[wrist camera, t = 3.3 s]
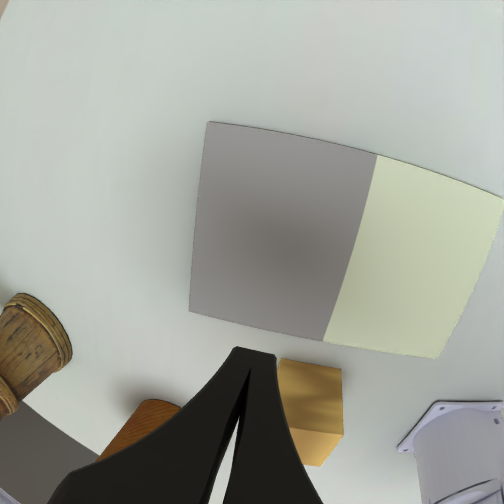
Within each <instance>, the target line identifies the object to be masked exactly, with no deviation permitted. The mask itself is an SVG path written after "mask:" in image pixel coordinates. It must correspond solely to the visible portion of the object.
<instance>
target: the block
mask: <svg viewBox="0 0 504 504" xmlns="http://www.w3.org/2000/svg"><path fill="white" fill-rule="evenodd" d="M277 377H278V384H279V390H280V395H281V400H282V404H283V408H284V412H285V416H286V420H287V423H288V426H289V429H290V433H291V436H292V439H293V441H294V444H295V447H296V449H297V452H298V454H299V457H300V459H301V462H302V464H304V465H312V466H321V465H322V464H323V462H324V461H325V460H326V458H327V457H328V456H329V454H330V453H331V452H332V450H333V449H334V448H335V446H336V445H337V444H338V442H339V441H340V439H341V438H342V437H343V435H344V428H343V400H342V381H341V369H337V368H331V367H325V366H320V365H314V364H308V363H303V362H298V361H293V360H288V359H283V358H281V360H280V363H279V366H278V370H277Z"/></svg>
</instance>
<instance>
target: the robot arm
mask: <svg viewBox="0 0 504 504" xmlns="http://www.w3.org/2000/svg"><path fill="white" fill-rule="evenodd" d="M276 359H277V358H276V357H275V355H274V354H269V353H264V352H260V351H255V350H251V349H247V348H242V347H238V346H236V347H234V348H233V349H232V351H231V353H230V354H229V356H228V357H227V359H226V360H225V362H224V363H223V365H222V366H221V367H220V368H219V370H218V371H217V372H216V373H215V375H214V376H213V377H212V378H211V379H210V380H209V381H208V383H207V384H206V385H205V386H204V387H203V388H202V389H201V390H200V391H199V392H198V393H197V394H196V395H195V396H194V397H193V398H192V399H191V400H190V401H189V402H188V403H187V404H186V405H185V406H184V407H183V408H181V409H180V410H179V411H178V412H177V413H176V414H174V415H173V416H172V417H171V418H169V419H168V420H167V421H166V422H164V423H163V424H162V425H160V426H159V427H157V428H156V429H155V430H153V431H152V432H150V433H149V434H147V435H146V436H144V437H143V438H141V439H140V440H138V441H136V442H135V443H133V444H131V445H129V446H127V447H126V448H124V449H122V450H120V451H118V452H116V453H114V454H112V455H110V456H108V457H106V458H104V459H102V460H100V461H97V462H95V463H92V464H90V465H87V466H85V467H82V468H79V469H77V470H74V471H72V472H70V473H69V474H68V475H67V476H66V477H65V478H64V479H63V481H62V482H61V483H60V484H59V485H58V487H57V488H56V490H55V491H54V493H53V495H52V497H51V498H50V500H49V502H48V503H47V504H208V503H209V499H210V496H211V492H212V489H213V486H214V482H215V479H216V476H217V473H218V470H219V467H220V465H221V462H222V460H223V457H224V455H225V452H226V450H227V447H228V445H229V442H230V440H231V437H232V434H233V432H234V429H235V427H236V424H237V421H238V419H239V423H238V429H237V436H236V442H235V449H234V455H233V461H232V468H231V473H230V478H229V482H228V486H227V489H226V493H225V497H224V500H223V504H323V502H322V501H321V499H320V497H319V495H318V493H317V491H316V490H315V488H314V486H313V484H312V482H311V480H310V479H309V477H308V475H307V473H306V470H305V468H304V466H303V464H302V462H301V459H300V457H299V454H298V452H297V449H296V447H295V444H294V441H293V439H292V436H291V433H290V429H289V426H288V423H287V420H286V416H285V412H284V408H283V404H282V400H281V395H280V390H279V384H278V377H277V366H276ZM503 407H504V403H503V402H436V403H434V404H433V405H432V407H431V408H430V409H429V411H428V412H427V413H426V414H425V416H424V417H423V418H422V419H421V421H420V422H419V423H418V424H417V426H416V427H415V428H414V429H413V430H412V431H411V433H410V434H409V435H408V436H407V437H406V438H405V439H404V441H403V442H402V443H401V444H400V445H399V446H398V447H397V452H399V453H415V457H416V463H417V469H418V476H419V483H420V491H421V499H422V504H504V420H503V418H502V415H501V413H500V410H501V409H502V408H503ZM239 416H240V417H239ZM0 504H20V503H19V502H17V501H16V500H15V499H14V498H12V497H11V496H10V495H8V494H7V493H6V492H5V491H3V490H2V489H1V488H0Z"/></svg>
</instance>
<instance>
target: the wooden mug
mask: <svg viewBox="0 0 504 504" xmlns="http://www.w3.org/2000/svg"><path fill="white" fill-rule="evenodd" d="M71 356H72V351H71V345H70V343H69V340H68V337H67V335H66V333H65V331H64V330H63V328H62V326H61V324H60V323H59V322H58V320H57V319H56V317H55V316H54V315H53V314H52V313H51V311H50V310H49V309H48V308H47V307H46V306H44V305H43V304H42V303H41V302H39V301H38V300H36V299H34V298H32V297H30V296H28V295H26V294H16V295H15V296H14V297H13V298H12V299H11V300H10V301H9V302H8V303H7V304H6V305H5V306H4V309H3V313H2V314H1V315H0V420H1V419H2V418H4V417H5V416H6V415H10V414H12V413H13V412H15V411H16V410H17V409H18V408H19V402H20V401H21V400H23V399H24V398H25V397H26V396H27V395H28V394H29V393H30V392H31V391H33V390H34V389H35V388H36V387H37V386H38V385H39V384H41V383H42V382H43V381H44V380H45V379H46V378H48V377H49V376H50V375H51V374H52V373H55V372H57V371H59V370H61V369H62V368H63V367H64V366H65V365H66V364H68V363H69V361H70V360H71Z"/></svg>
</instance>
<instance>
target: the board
mask: <svg viewBox="0 0 504 504" xmlns="http://www.w3.org/2000/svg"><path fill="white" fill-rule="evenodd" d="M503 211H504V199H502V198H500V197H498V196H496V195H493V194H491V193H488V192H486V191H484V190H481V189H479V188H476V187H474V186H471V185H468V184H466V183H463V182H461V181H458V180H455V179H452V178H450V177H447V176H444V175H441V174H438V173H436V172H433V171H430V170H427V169H424V168H421V167H418V166H414V165H411V164H408V163H405V162H402V161H398V160H395V159H392V158H388V157H385V156H381V155H378V154H374V153H370V152H367V151H363V150H359V149H355V148H351V147H347V146H343V145H339V144H335V143H330V142H326V141H321V140H317V139H312V138H307V137H303V136H298V135H293V134H287V133H282V132H276V131H271V130H265V129H259V128H252V127H246V126H239V125H232V124H225V123H217V122H207V126H206V133H205V141H204V148H203V156H202V165H201V173H200V182H199V191H198V200H197V210H196V220H195V231H194V242H193V254H192V267H191V281H190V297H189V311H190V312H193V313H197V314H201V315H205V316H209V317H213V318H217V319H221V320H225V321H229V322H233V323H237V324H242V325H246V326H250V327H255V328H259V329H264V330H268V331H273V332H277V333H282V334H287V335H292V336H297V337H302V338H307V339H312V340H317V341H322V342H328V343H333V344H339V345H345V346H350V347H356V348H362V349H369V350H375V351H382V352H388V353H395V354H402V355H410V356H418V357H426V358H434V359H437V358H438V356H439V355H440V353H441V351H442V349H443V348H444V346H445V344H446V342H447V341H448V339H449V337H450V335H451V333H452V332H453V330H454V328H455V326H456V324H457V322H458V320H459V318H460V316H461V315H462V313H463V311H464V309H465V307H466V304H467V302H468V300H469V298H470V296H471V294H472V292H473V290H474V287H475V285H476V283H477V281H478V278H479V276H480V274H481V271H482V269H483V267H484V264H485V262H486V259H487V257H488V254H489V251H490V249H491V246H492V243H493V241H494V238H495V235H496V232H497V229H498V226H499V223H500V220H501V217H502V214H503Z"/></svg>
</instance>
